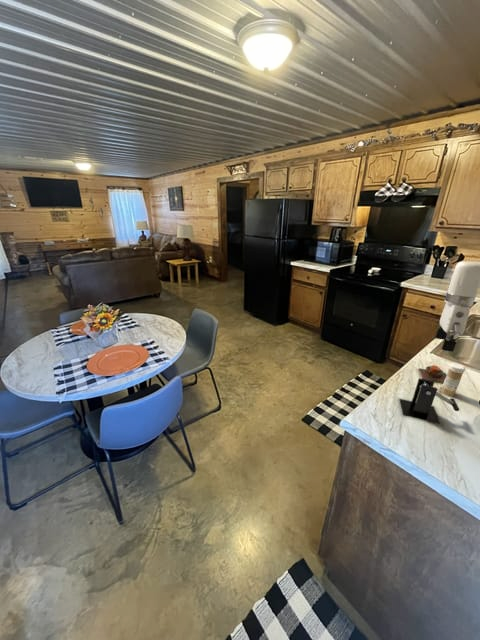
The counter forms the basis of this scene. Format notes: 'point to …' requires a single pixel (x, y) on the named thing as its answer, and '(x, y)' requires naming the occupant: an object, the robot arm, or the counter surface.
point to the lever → (451, 401)
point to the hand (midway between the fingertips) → (443, 344)
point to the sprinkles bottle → (452, 379)
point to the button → (435, 369)
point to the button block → (432, 375)
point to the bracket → (421, 403)
